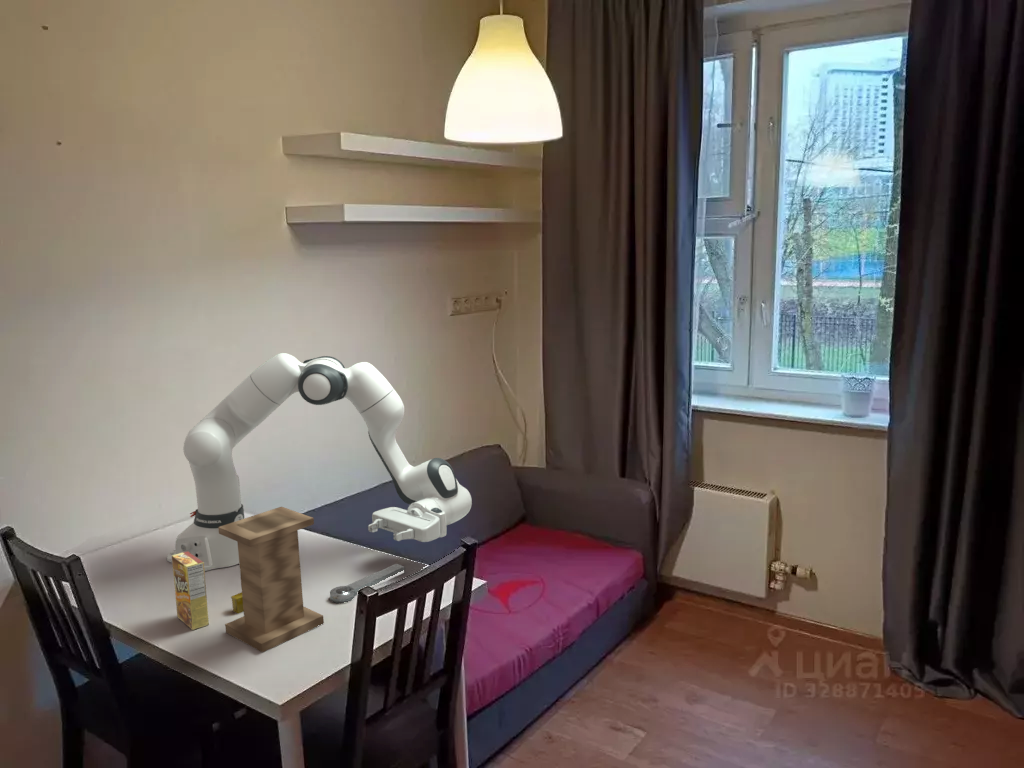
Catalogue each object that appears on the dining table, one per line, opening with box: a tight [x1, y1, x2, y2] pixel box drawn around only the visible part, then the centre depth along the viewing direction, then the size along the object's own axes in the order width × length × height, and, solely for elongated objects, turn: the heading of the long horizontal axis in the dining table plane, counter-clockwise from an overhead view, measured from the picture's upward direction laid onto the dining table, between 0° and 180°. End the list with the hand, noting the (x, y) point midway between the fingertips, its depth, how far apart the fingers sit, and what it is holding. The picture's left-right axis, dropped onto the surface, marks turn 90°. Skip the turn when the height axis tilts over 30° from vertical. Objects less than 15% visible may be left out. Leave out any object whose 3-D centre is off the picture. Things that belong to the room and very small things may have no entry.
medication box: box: [230, 591, 244, 615], centre depth 199 cm, size 12×3×4 cm, turn 137°
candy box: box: [171, 551, 210, 631], centre depth 189 cm, size 9×4×15 cm, turn 43°
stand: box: [218, 506, 325, 653], centre depth 184 cm, size 16×14×25 cm
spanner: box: [329, 563, 405, 604], centre depth 207 cm, size 22×6×2 cm, turn 140°
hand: (382, 533), depth 208 cm, fingers open, 8 cm apart
